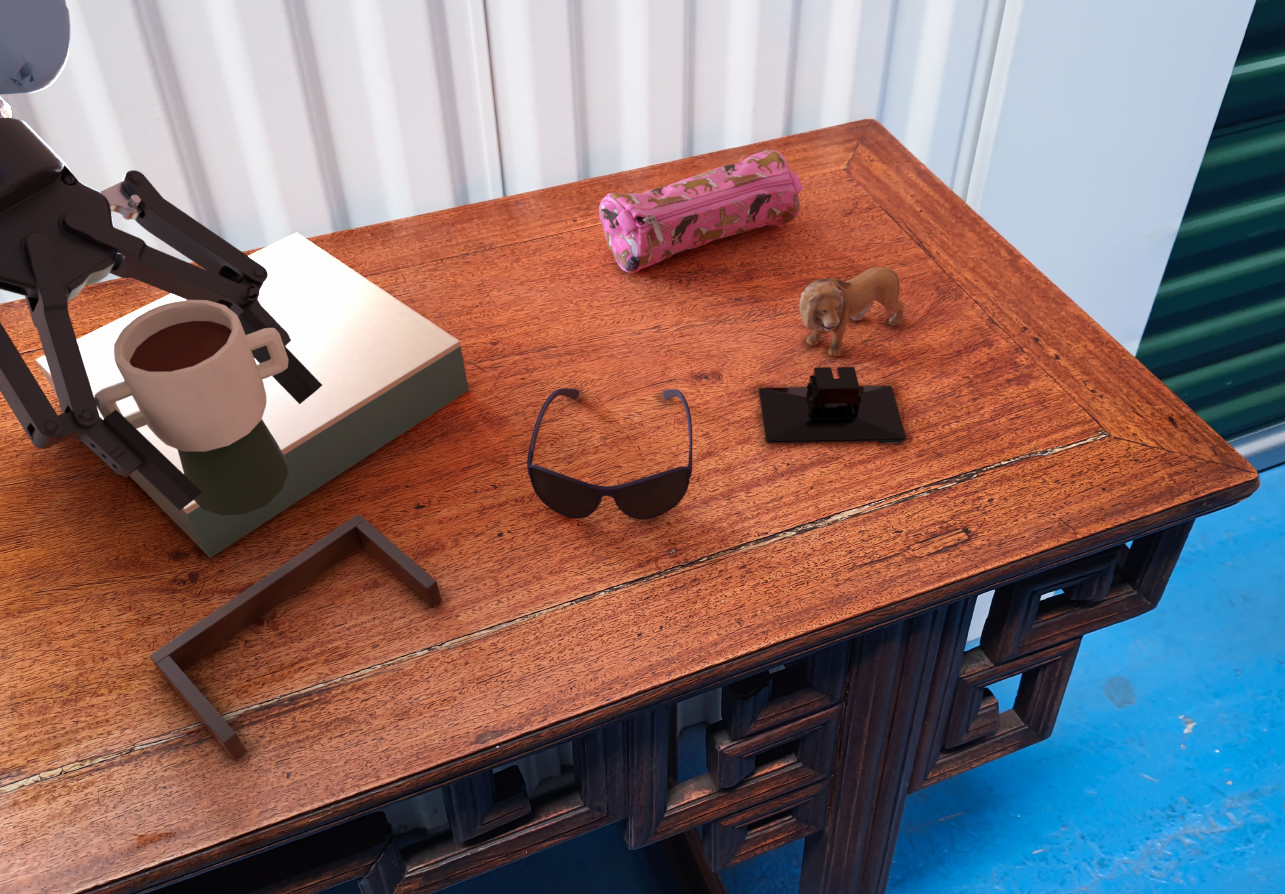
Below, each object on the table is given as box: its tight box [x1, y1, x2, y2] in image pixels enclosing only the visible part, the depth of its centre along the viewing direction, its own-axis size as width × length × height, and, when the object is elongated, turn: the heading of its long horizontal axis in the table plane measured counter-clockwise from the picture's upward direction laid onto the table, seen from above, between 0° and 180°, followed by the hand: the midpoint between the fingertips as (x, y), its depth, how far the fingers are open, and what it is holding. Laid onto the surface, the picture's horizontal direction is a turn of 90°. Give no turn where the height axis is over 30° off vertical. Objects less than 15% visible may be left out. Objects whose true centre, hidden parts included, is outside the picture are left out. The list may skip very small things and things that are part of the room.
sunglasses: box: [526, 387, 694, 521], centre depth 85 cm, size 14×16×5 cm
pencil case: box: [598, 149, 804, 274], centre depth 107 cm, size 21×9×9 cm, turn 117°
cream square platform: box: [35, 232, 470, 559], centre depth 91 cm, size 27×26×6 cm
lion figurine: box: [798, 266, 904, 357], centre depth 95 cm, size 15×5×9 cm, turn 133°
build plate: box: [758, 366, 907, 445], centre depth 89 cm, size 12×7×5 cm, turn 91°
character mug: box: [94, 300, 288, 515], centre depth 62 cm, size 11×7×13 cm, turn 124°
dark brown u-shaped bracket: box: [148, 513, 443, 762], centre depth 73 cm, size 18×10×2 cm, turn 137°
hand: (254, 445), depth 62 cm, fingers closed on character mug, 10 cm apart
